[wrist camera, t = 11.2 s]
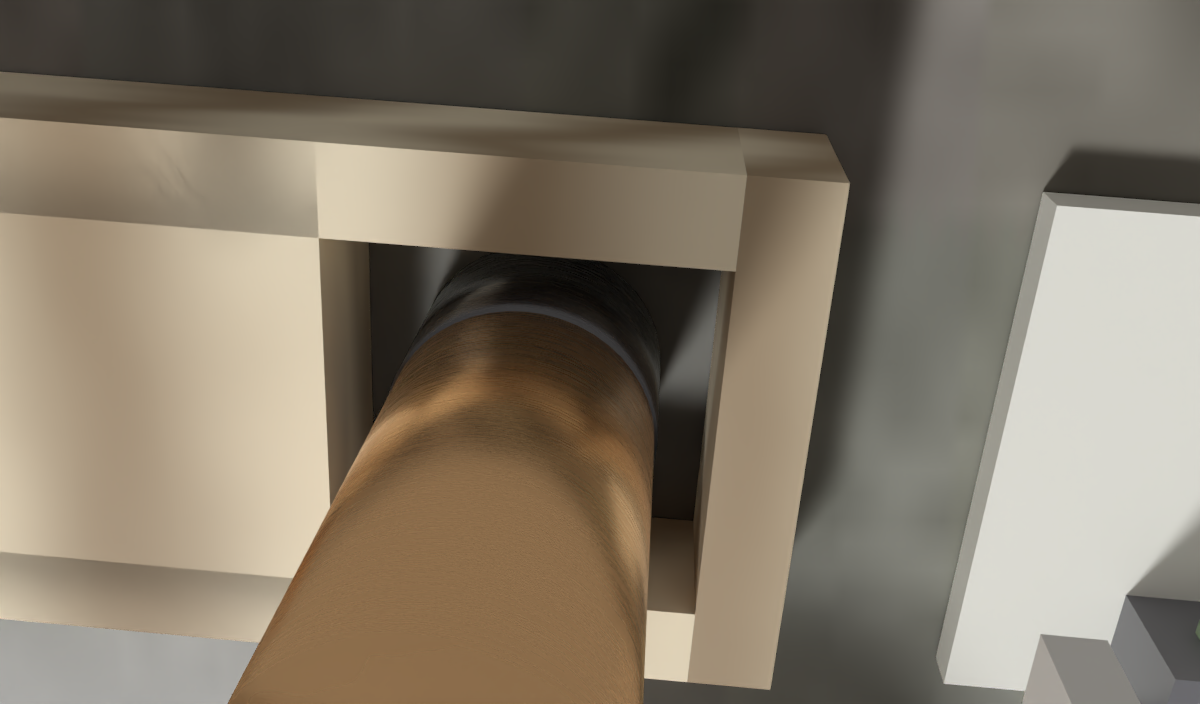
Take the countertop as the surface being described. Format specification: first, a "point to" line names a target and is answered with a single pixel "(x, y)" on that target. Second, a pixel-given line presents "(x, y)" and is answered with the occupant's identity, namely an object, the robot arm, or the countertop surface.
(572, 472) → the copper cell
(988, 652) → the pad
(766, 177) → the cell holder
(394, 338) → the countertop surface
